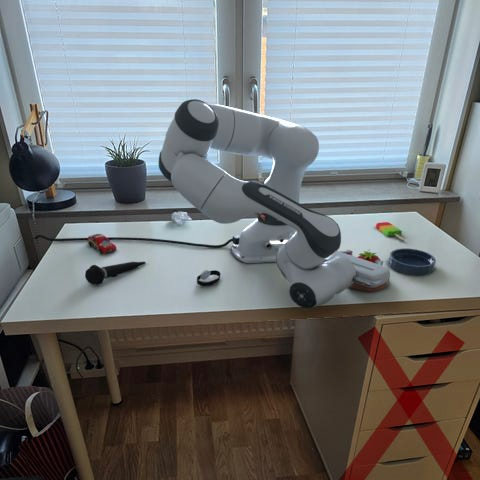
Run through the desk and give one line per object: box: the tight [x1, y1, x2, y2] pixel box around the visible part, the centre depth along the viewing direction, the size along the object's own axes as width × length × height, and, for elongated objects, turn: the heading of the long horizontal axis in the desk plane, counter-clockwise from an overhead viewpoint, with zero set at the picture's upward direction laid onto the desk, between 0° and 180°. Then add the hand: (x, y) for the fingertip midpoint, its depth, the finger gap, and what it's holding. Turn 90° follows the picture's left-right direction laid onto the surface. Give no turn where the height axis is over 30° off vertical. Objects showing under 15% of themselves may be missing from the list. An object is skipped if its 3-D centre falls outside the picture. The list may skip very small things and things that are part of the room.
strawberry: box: [356, 249, 381, 263], centre depth 125 cm, size 6×8×10 cm
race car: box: [87, 233, 117, 256], centre depth 145 cm, size 13×5×4 cm, turn 39°
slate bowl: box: [388, 247, 437, 276], centre depth 136 cm, size 13×13×3 cm
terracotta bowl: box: [349, 273, 391, 292], centre depth 127 cm, size 13×13×3 cm
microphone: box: [84, 261, 146, 286], centre depth 129 cm, size 6×6×20 cm
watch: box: [196, 269, 221, 287], centre depth 126 cm, size 8×5×4 cm, turn 131°
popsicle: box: [375, 221, 405, 241], centre depth 158 cm, size 6×15×2 cm, turn 15°
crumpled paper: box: [170, 211, 193, 226], centre depth 166 cm, size 8×4×7 cm
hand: (365, 257), depth 122 cm, fingers open, 8 cm apart
